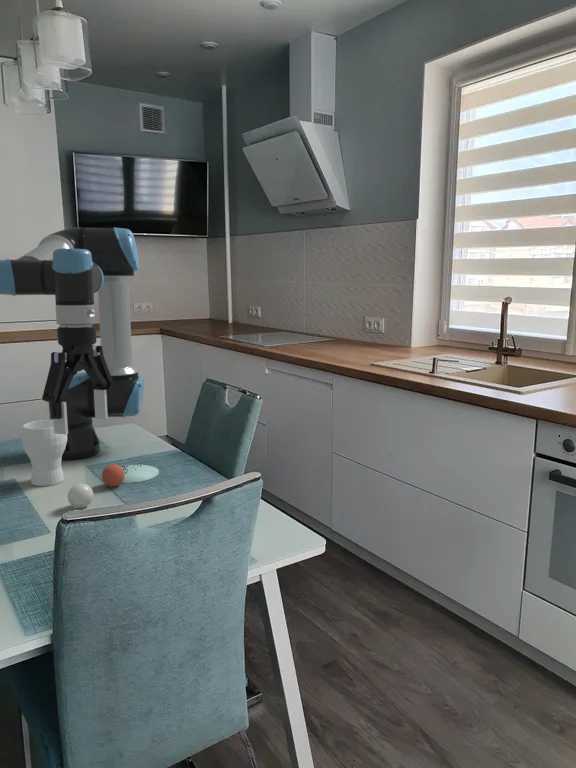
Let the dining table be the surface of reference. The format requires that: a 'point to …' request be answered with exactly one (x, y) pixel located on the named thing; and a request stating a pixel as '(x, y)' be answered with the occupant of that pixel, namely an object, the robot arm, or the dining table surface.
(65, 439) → the cup
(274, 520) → the dining table surface
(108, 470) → the object ball
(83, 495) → the cue ball
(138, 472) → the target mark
